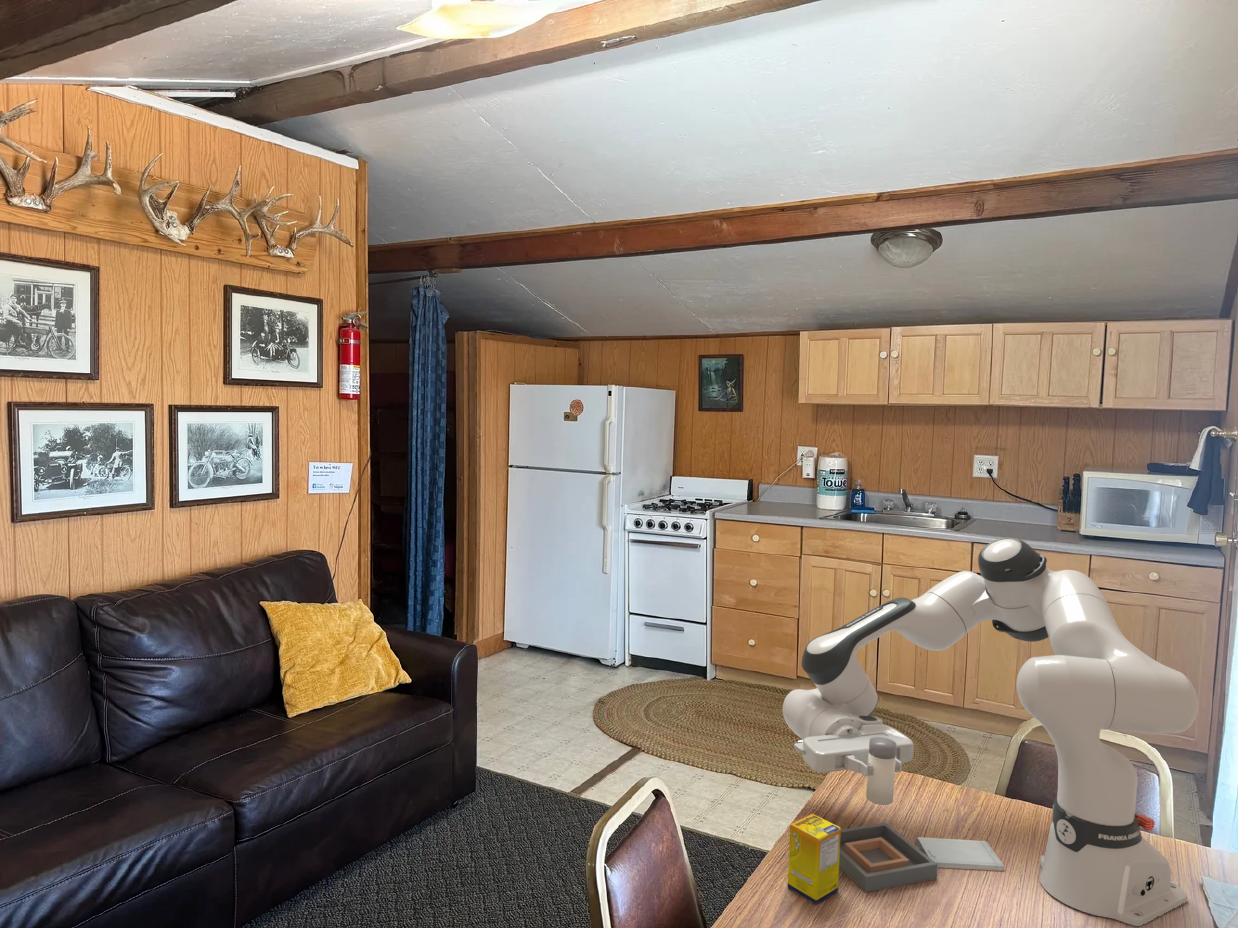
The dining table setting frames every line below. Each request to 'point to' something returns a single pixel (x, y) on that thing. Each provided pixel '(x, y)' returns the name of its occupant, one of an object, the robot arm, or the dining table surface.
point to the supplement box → (814, 858)
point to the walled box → (882, 858)
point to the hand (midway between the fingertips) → (884, 769)
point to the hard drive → (960, 853)
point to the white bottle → (881, 770)
